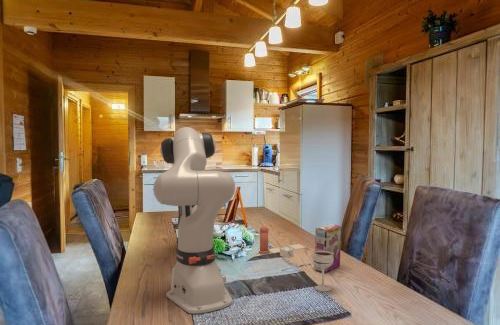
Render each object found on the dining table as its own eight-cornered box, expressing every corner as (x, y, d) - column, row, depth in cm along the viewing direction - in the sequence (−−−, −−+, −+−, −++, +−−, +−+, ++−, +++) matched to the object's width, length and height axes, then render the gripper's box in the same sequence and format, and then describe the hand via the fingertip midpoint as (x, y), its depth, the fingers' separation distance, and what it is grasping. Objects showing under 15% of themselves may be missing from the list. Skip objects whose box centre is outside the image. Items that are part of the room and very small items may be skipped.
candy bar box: (325, 274, 124) (326, 230, 123) (313, 270, 127) (314, 227, 126) (341, 266, 131) (341, 225, 131) (330, 263, 135) (330, 223, 134)
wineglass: (334, 293, 107) (334, 256, 107) (312, 291, 108) (313, 255, 108) (332, 284, 114) (333, 250, 113) (312, 283, 115) (312, 248, 115)
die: (293, 258, 141) (293, 248, 141) (287, 260, 138) (287, 250, 138) (285, 256, 144) (286, 246, 144) (279, 258, 141) (279, 248, 141)
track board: (309, 250, 152) (309, 248, 151) (251, 261, 137) (251, 258, 137) (295, 244, 160) (295, 242, 160) (240, 254, 146) (240, 252, 146)
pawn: (271, 252, 145) (271, 226, 144) (262, 254, 142) (262, 227, 142) (265, 249, 149) (265, 224, 148) (256, 251, 147) (256, 225, 146)
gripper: (203, 229, 150) (228, 233, 143) (230, 221, 167) (254, 224, 160) (203, 243, 150) (228, 248, 143) (230, 233, 167) (254, 237, 160)
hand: (242, 236), depth 151 cm, fingers open, 8 cm apart
